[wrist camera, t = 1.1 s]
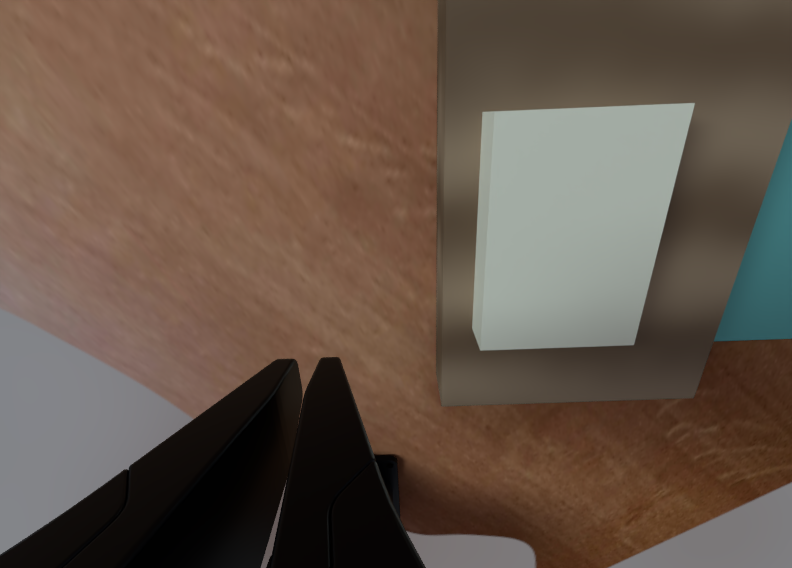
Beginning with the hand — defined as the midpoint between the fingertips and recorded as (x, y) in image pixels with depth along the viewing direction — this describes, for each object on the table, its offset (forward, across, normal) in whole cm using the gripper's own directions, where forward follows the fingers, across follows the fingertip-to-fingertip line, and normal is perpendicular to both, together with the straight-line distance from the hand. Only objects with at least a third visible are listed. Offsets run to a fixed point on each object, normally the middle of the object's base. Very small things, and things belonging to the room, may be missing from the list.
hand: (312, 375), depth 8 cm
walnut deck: (+13, -11, 0) cm, 17 cm away
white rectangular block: (+10, -9, 0) cm, 13 cm away
